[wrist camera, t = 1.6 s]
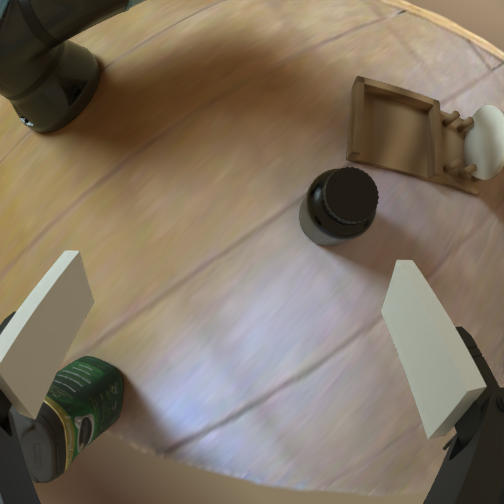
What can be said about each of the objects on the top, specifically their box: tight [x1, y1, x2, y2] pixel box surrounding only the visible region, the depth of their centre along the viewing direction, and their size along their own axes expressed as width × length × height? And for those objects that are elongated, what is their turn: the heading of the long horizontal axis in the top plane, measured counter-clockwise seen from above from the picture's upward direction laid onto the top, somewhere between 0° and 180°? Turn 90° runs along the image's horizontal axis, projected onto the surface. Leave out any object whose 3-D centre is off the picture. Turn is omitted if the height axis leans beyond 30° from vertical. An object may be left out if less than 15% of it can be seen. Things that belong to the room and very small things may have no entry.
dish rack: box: [346, 76, 504, 195], centre depth 32 cm, size 20×11×11 cm, turn 80°
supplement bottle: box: [299, 167, 379, 246], centre depth 31 cm, size 7×7×12 cm
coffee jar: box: [9, 356, 123, 483], centre depth 28 cm, size 10×8×19 cm
